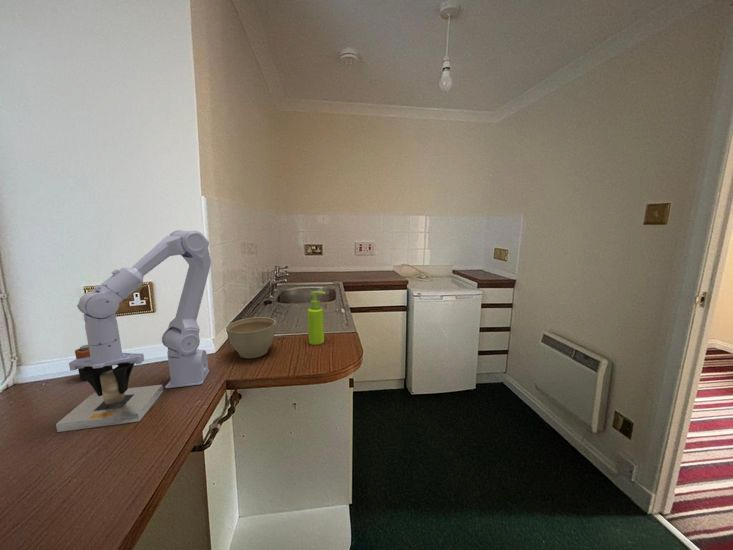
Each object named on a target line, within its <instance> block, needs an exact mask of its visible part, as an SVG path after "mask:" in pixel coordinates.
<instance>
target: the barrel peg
mask: <svg viewBox="0 0 733 550" xmlns="http://www.w3.org/2000/svg"><path fill="white" fill-rule="evenodd" d="M100 382H101V388H102V393H103V399H104V404H114V403H117V402H119V401H121V400H123V399H124V398H125V393H123V394H120V392H119V388H118V383H117V380H116V377H115V375H114V374H113V372H112V370H110V371H107V372H104V373H102V374H101V375H100Z"/></svg>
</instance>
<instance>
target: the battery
mask: <svg viewBox="0 0 733 550" xmlns="http://www.w3.org/2000/svg"><path fill="white" fill-rule="evenodd" d="M74 354H75V359H82V358H88V357H90V351H89V346H88V344H84V345H81V346H80V347H79V348H77V349H75V350H74ZM113 369H114V367H113V365H111V366H105V372H107V371H110V370H113ZM77 370H78V375H79V378H80V379H82V380H84V381H86V382H88V381H87V380H85V379H84V378H82V377H81V375H80V374H81V373H82V372H83V370H84V368H80V369H77Z"/></svg>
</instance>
